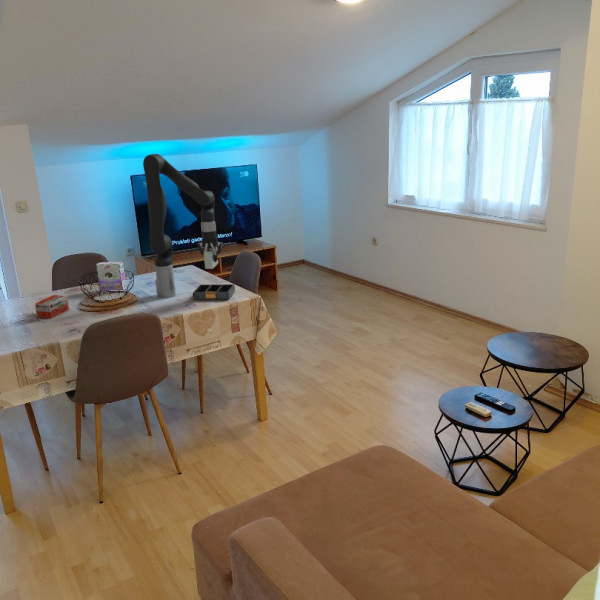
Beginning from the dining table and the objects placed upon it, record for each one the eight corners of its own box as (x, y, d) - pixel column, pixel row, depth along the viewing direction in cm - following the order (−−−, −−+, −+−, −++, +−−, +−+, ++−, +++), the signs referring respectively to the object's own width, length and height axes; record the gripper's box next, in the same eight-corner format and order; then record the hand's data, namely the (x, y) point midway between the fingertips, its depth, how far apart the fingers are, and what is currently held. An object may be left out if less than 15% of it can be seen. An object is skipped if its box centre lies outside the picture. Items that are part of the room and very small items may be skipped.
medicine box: (50, 319, 286) (48, 304, 284) (36, 318, 288) (34, 303, 286) (69, 309, 300) (67, 295, 298) (56, 309, 302) (53, 294, 300)
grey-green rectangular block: (205, 268, 303) (203, 252, 300) (210, 263, 314) (209, 246, 311) (212, 268, 302) (211, 251, 299) (218, 263, 313) (216, 246, 311)
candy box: (126, 289, 333) (123, 261, 328) (123, 292, 327) (119, 263, 322) (103, 289, 334) (99, 261, 329) (99, 292, 329) (95, 264, 324)
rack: (193, 300, 307) (192, 292, 305) (201, 291, 321) (200, 284, 320) (228, 300, 305) (228, 292, 303) (234, 291, 319) (234, 283, 318)
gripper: (193, 231, 299) (196, 263, 305) (220, 230, 298) (223, 263, 303) (197, 228, 306) (200, 260, 312) (223, 228, 305) (226, 259, 310)
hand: (211, 261), depth 307 cm, fingers closed on grey-green rectangular block, 4 cm apart
